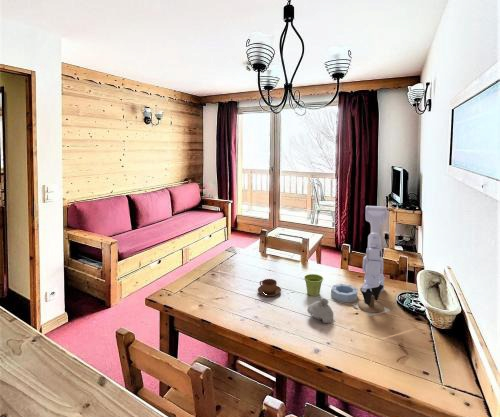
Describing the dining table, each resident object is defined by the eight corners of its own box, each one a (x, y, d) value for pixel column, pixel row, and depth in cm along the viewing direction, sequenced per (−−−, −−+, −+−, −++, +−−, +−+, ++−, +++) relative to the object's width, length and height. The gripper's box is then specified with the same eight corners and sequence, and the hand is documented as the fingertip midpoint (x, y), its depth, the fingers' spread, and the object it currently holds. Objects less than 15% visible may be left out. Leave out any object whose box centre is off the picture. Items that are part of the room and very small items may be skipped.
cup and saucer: (254, 296, 160) (254, 285, 159) (261, 286, 171) (261, 275, 170) (277, 299, 156) (277, 288, 155) (283, 289, 167) (283, 278, 166)
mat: (371, 300, 154) (371, 299, 154) (390, 311, 143) (391, 310, 143) (351, 304, 150) (351, 304, 150) (369, 317, 139) (369, 316, 139)
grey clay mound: (338, 324, 139) (344, 305, 134) (318, 332, 132) (324, 313, 128) (319, 306, 148) (325, 287, 143) (300, 313, 141) (305, 294, 137)
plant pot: (323, 298, 156) (323, 282, 155) (303, 297, 158) (303, 280, 157) (322, 290, 165) (323, 274, 164) (304, 289, 167) (304, 273, 166)
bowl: (346, 289, 165) (346, 282, 165) (362, 299, 154) (362, 292, 154) (326, 294, 161) (327, 286, 160) (341, 304, 150) (342, 296, 149)
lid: (371, 299, 153) (372, 289, 152) (389, 310, 143) (390, 298, 142) (353, 304, 149) (353, 293, 148) (369, 315, 139) (370, 303, 138)
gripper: (373, 267, 151) (371, 294, 153) (355, 275, 142) (354, 303, 145) (387, 271, 145) (385, 299, 148) (370, 280, 137) (368, 309, 139)
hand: (371, 301), depth 146 cm, fingers open, 6 cm apart
